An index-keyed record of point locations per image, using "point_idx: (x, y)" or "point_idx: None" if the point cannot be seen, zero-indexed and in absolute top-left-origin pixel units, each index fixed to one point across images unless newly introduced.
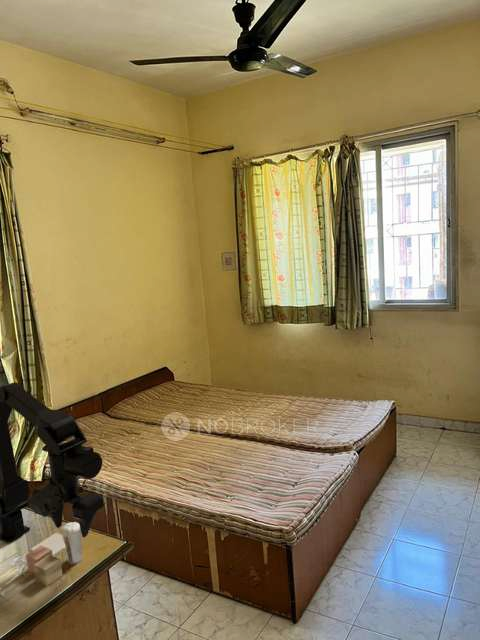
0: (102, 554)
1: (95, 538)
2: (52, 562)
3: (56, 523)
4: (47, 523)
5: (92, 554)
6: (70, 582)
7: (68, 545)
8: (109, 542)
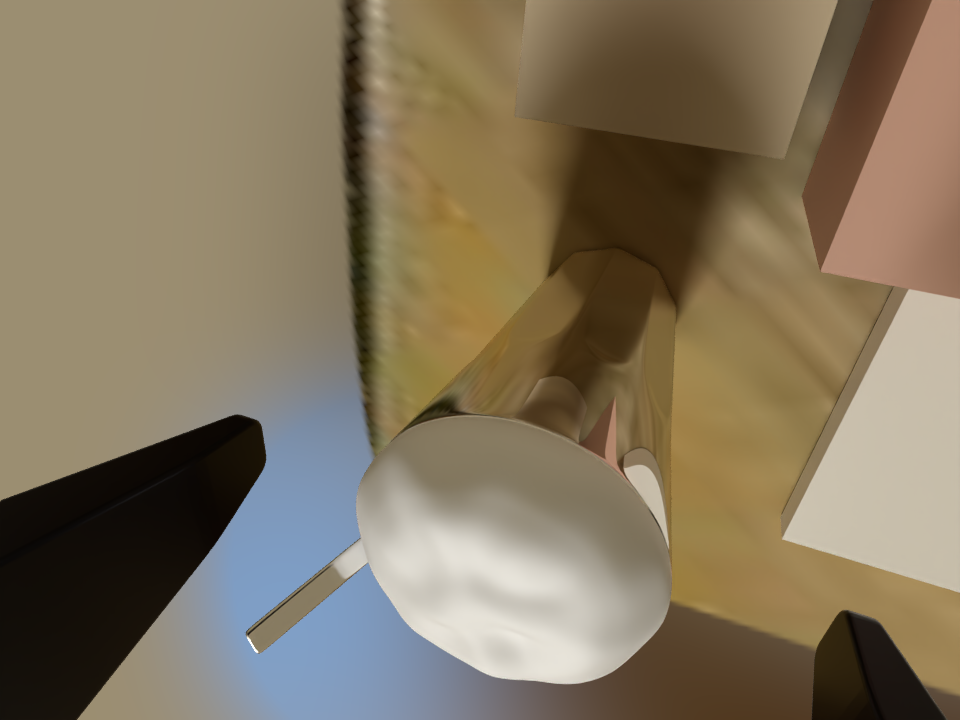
0: None
1: None
2: (575, 7)
3: (865, 694)
4: None
5: None
6: (403, 10)
7: (523, 337)
8: None
